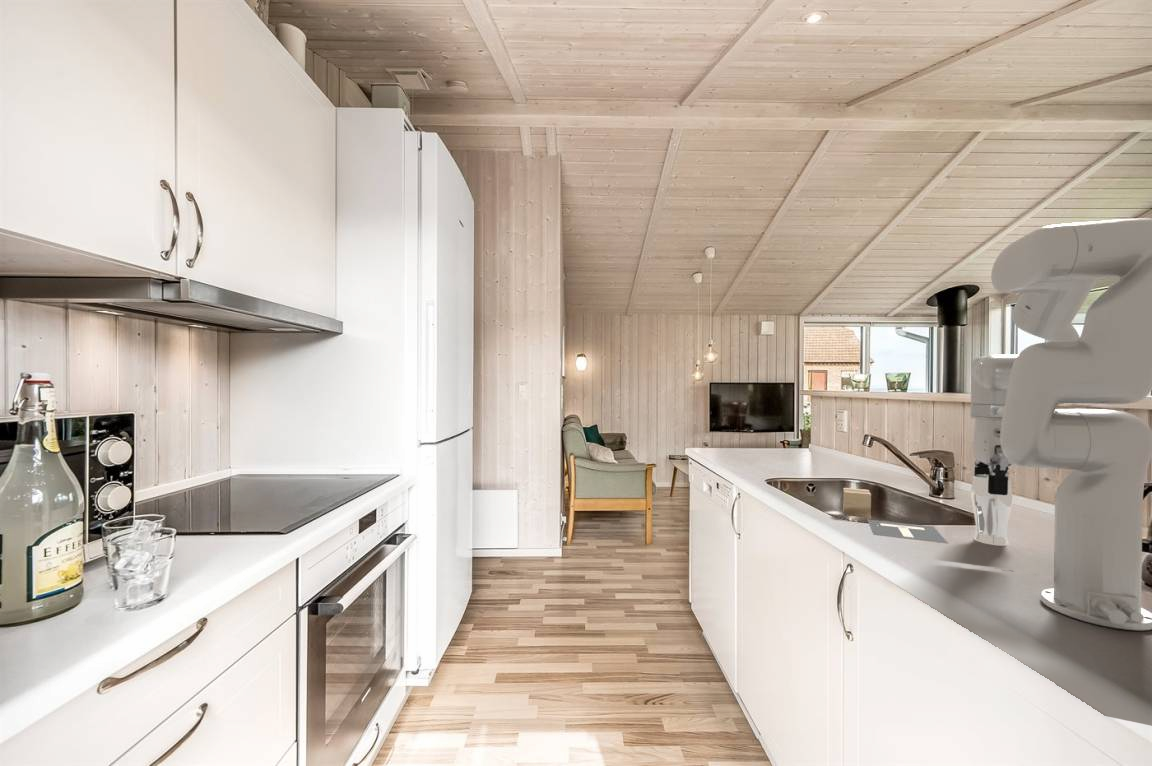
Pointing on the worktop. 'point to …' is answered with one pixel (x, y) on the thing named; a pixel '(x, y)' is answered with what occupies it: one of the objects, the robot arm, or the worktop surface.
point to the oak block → (857, 502)
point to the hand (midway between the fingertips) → (990, 489)
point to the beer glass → (990, 512)
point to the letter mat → (906, 531)
